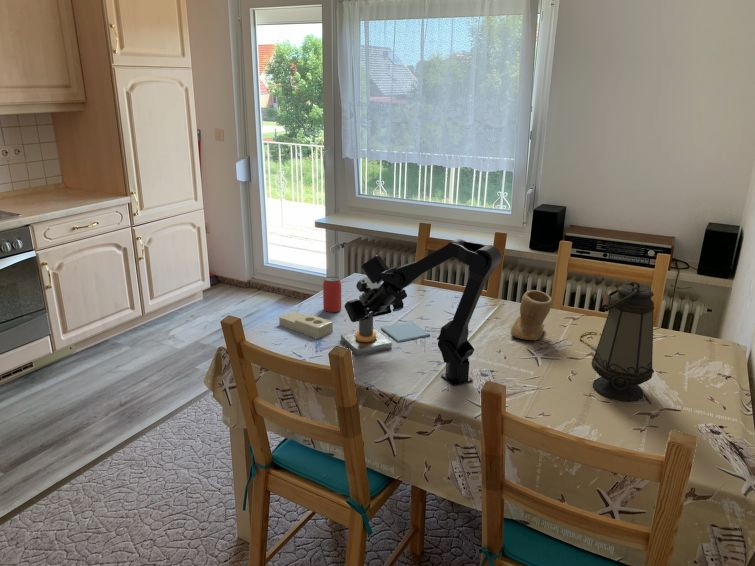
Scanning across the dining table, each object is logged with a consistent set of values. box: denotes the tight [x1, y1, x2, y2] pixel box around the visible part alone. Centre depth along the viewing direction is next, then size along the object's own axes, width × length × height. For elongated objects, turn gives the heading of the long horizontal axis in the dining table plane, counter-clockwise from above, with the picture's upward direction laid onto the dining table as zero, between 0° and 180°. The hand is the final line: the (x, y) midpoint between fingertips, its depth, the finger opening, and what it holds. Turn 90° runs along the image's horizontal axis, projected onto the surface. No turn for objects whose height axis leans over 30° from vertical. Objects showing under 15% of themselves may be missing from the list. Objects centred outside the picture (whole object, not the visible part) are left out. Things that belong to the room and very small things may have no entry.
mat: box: [380, 320, 431, 343], centre depth 182 cm, size 12×12×1 cm
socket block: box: [340, 328, 393, 356], centre depth 172 cm, size 12×12×2 cm
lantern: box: [591, 280, 655, 403], centre depth 143 cm, size 18×15×30 cm
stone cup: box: [510, 289, 553, 341], centre depth 180 cm, size 15×12×15 cm
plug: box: [355, 292, 376, 343], centre depth 170 cm, size 6×6×17 cm
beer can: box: [322, 275, 342, 313], centre depth 198 cm, size 7×7×12 cm
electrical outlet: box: [278, 311, 334, 339], centre depth 183 cm, size 7×4×18 cm
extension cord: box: [579, 331, 602, 352], centre depth 176 cm, size 12×16×2 cm
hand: (363, 317), depth 171 cm, fingers closed on plug, 4 cm apart
